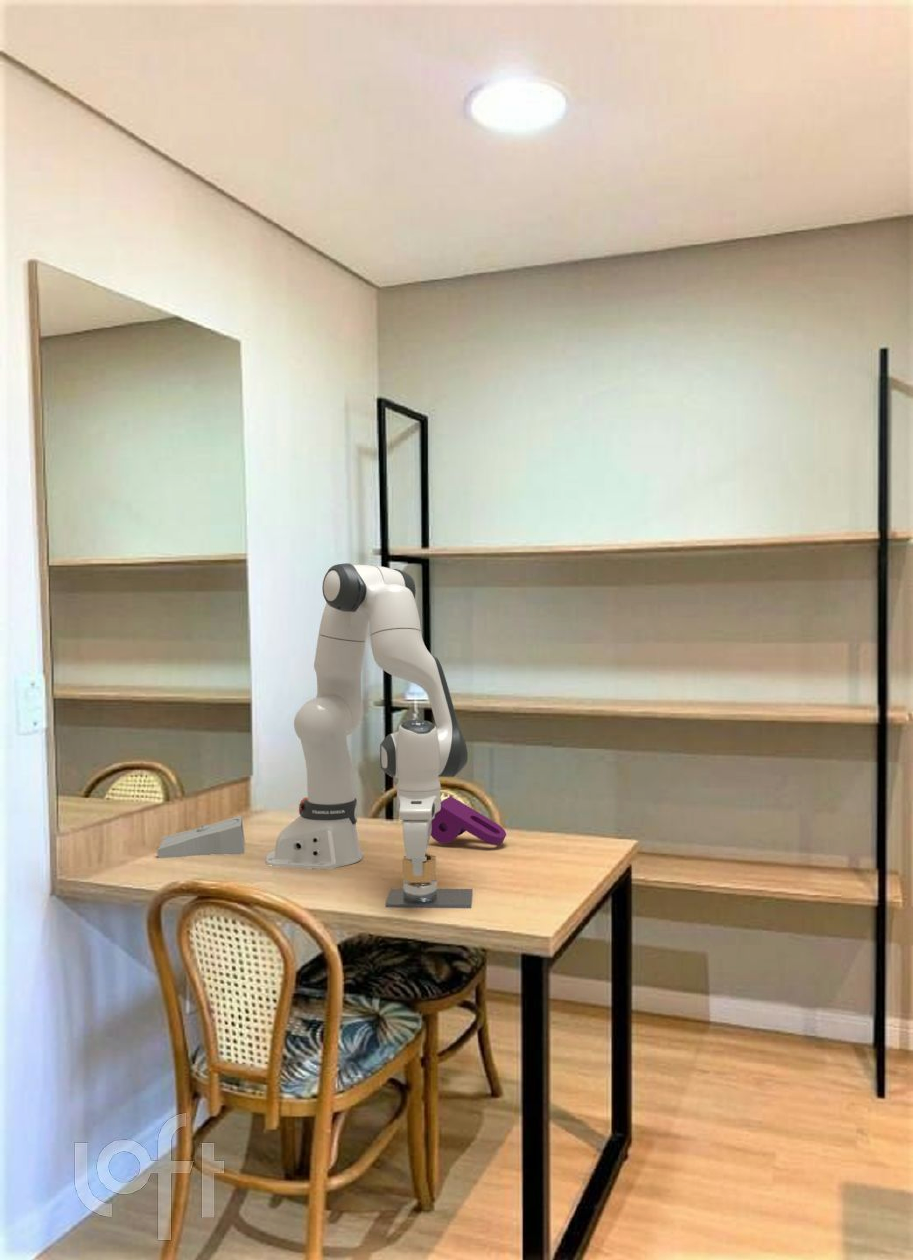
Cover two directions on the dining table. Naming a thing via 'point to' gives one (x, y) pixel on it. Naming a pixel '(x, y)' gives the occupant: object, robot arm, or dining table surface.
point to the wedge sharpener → (206, 840)
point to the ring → (428, 870)
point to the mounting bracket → (464, 823)
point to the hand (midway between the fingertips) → (419, 869)
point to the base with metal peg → (428, 896)
